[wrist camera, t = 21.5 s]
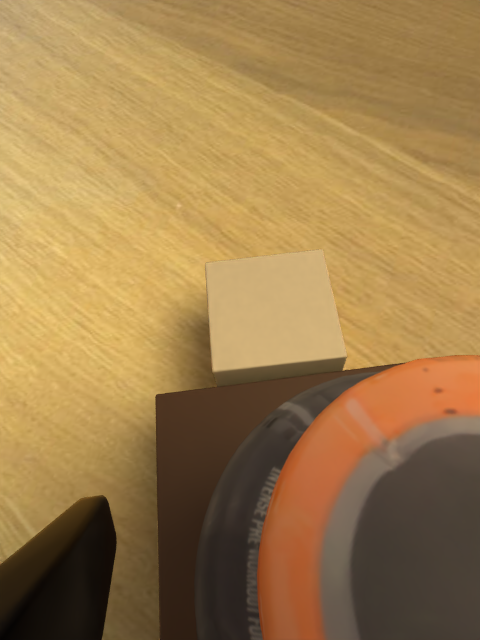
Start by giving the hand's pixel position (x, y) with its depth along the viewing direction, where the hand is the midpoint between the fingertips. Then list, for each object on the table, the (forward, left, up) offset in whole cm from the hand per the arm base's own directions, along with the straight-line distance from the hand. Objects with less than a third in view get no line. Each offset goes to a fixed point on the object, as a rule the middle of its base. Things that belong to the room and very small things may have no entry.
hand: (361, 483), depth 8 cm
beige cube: (+3, -4, -9) cm, 11 cm away
